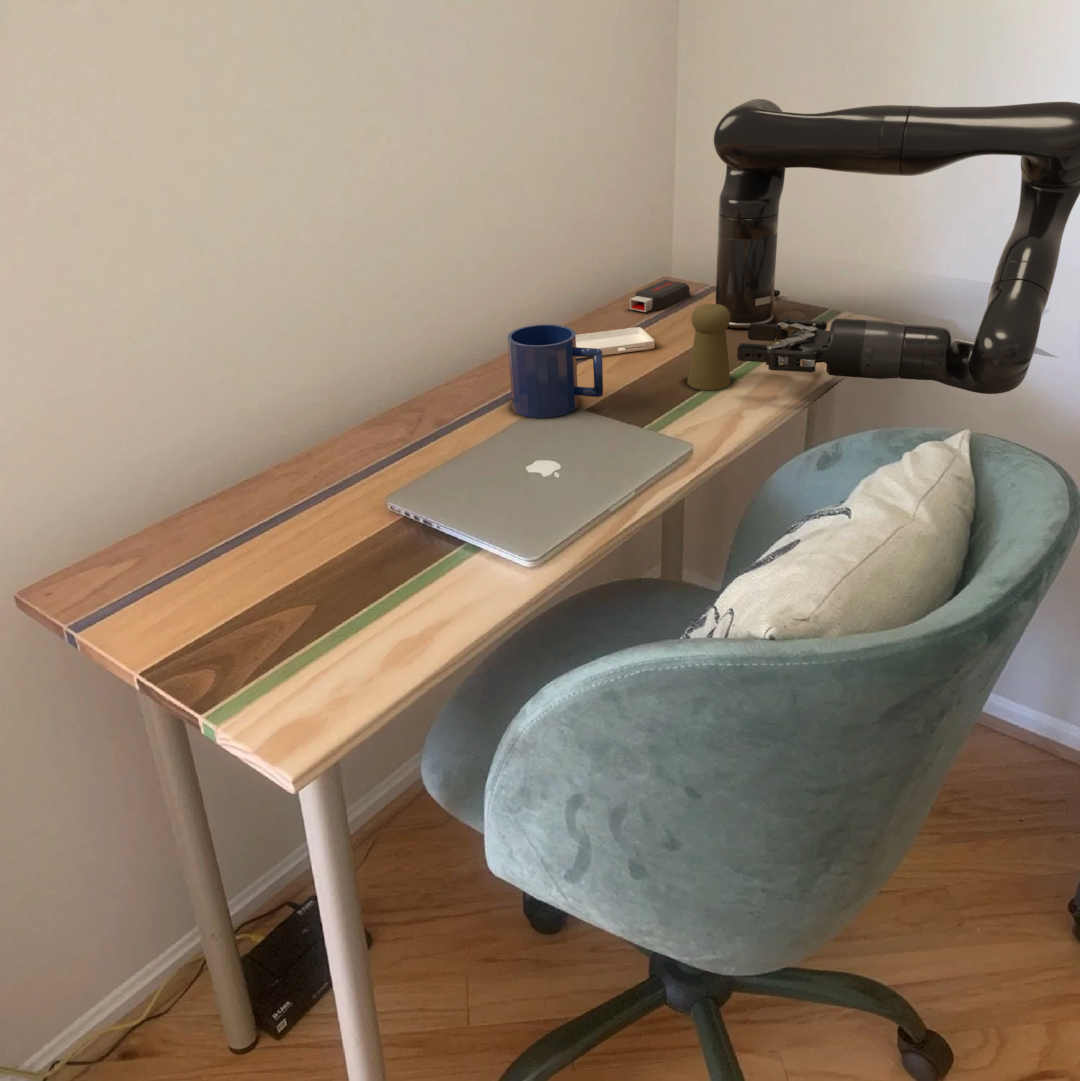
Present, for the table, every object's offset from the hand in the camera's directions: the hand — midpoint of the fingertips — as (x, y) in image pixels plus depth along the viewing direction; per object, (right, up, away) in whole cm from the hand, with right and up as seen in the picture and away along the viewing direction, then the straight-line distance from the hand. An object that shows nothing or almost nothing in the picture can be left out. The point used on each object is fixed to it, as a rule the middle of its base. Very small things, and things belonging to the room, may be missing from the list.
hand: (743, 341), depth 142 cm
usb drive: (-7, +14, +38) cm, 41 cm away
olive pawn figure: (-4, -5, +5) cm, 8 cm away
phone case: (-18, +3, +20) cm, 27 cm away
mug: (-25, -9, 0) cm, 27 cm away
